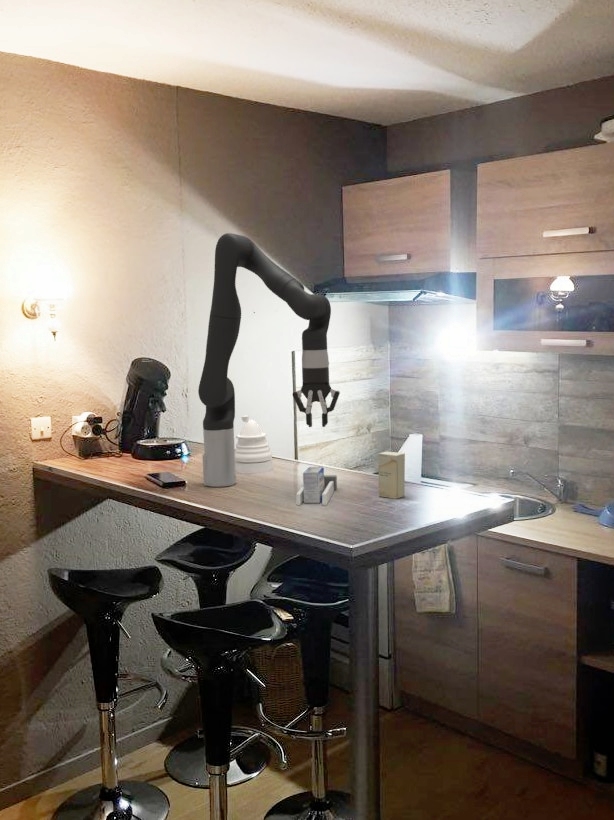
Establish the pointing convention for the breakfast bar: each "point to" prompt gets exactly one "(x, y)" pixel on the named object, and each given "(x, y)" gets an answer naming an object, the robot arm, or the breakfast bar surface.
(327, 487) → the channel
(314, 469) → the medicine box
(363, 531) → the breakfast bar surface
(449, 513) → the breakfast bar surface
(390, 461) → the skincare box
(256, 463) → the honey pot
